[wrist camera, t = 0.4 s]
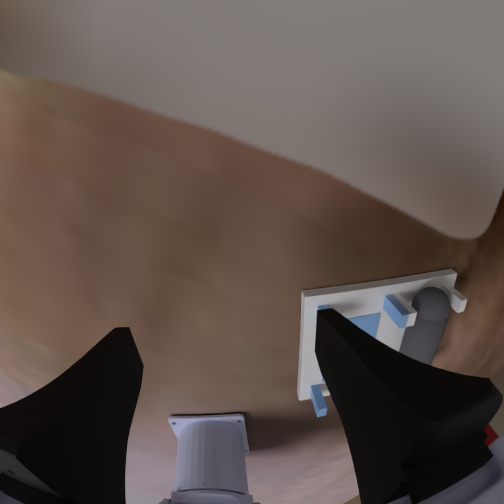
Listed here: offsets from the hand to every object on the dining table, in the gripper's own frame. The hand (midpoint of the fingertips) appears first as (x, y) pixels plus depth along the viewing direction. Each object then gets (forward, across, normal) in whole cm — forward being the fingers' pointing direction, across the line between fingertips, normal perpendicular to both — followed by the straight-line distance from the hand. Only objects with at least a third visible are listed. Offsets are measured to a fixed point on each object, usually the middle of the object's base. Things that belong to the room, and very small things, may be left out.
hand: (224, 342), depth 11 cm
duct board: (+10, -13, +10) cm, 19 cm away
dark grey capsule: (+9, -16, +10) cm, 21 cm away
